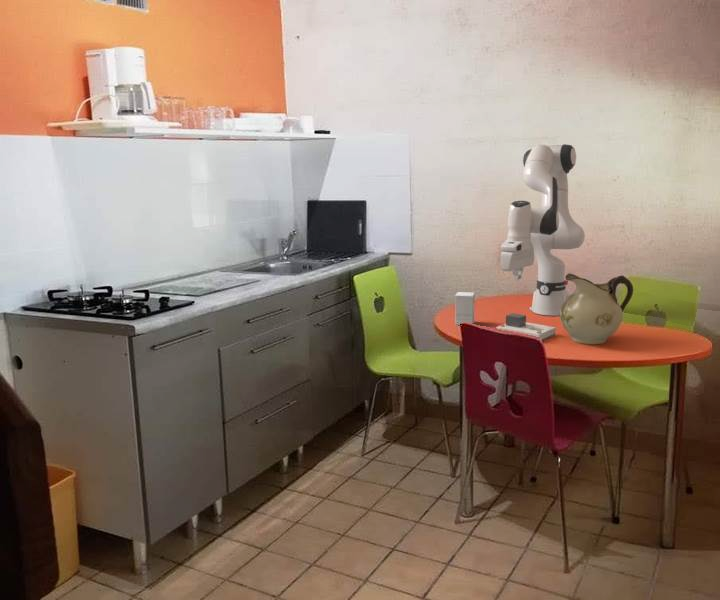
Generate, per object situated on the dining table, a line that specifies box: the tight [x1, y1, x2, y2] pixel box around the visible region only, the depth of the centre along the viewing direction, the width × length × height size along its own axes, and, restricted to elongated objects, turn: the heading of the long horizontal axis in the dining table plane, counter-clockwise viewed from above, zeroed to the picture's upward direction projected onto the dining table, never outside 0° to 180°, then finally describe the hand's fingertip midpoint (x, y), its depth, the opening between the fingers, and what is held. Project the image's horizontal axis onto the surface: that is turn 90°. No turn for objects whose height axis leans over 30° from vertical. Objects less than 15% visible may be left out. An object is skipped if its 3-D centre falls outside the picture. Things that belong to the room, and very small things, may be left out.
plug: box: [505, 312, 527, 328], centre depth 277 cm, size 5×6×6 cm
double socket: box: [496, 321, 557, 341], centre depth 275 cm, size 14×18×4 cm
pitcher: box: [559, 272, 634, 345], centre depth 265 cm, size 22×24×25 cm
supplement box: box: [454, 291, 476, 326], centre depth 292 cm, size 7×7×13 cm
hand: (517, 279), depth 274 cm, fingers closed
